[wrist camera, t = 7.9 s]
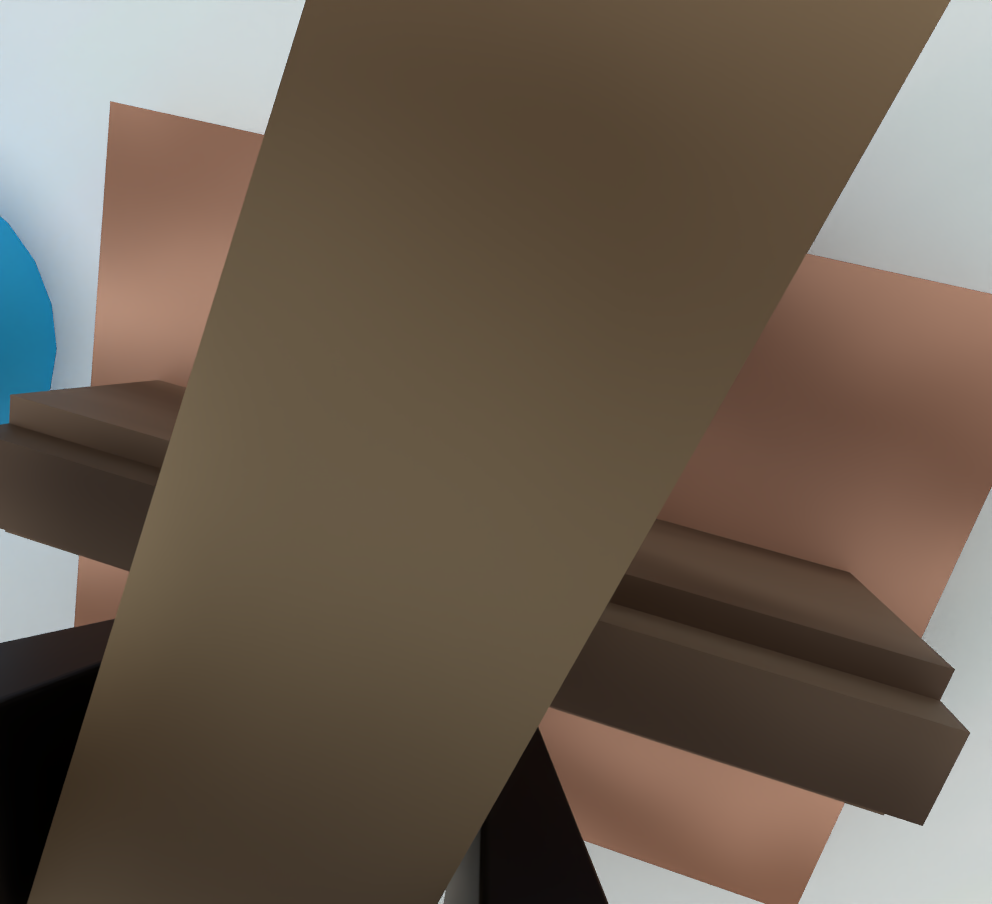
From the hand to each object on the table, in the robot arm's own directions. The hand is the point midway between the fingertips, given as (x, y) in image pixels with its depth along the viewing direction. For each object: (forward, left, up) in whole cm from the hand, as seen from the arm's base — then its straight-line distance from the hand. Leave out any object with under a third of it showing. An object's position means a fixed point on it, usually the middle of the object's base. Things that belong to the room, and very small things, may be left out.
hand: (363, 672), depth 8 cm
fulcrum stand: (0, 0, -8) cm, 8 cm away
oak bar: (0, 0, -1) cm, 1 cm away
